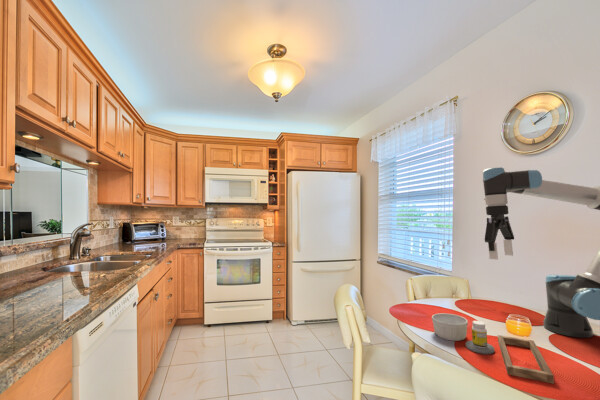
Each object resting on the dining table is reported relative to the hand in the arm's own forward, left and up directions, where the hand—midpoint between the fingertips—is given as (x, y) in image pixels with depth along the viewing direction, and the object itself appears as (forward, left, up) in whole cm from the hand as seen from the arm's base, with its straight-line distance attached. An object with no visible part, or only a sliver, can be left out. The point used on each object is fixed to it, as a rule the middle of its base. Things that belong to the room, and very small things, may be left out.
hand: (501, 257), depth 116 cm
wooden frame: (-2, +19, -32) cm, 37 cm away
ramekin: (+20, +8, -32) cm, 39 cm away
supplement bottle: (+10, +16, -31) cm, 36 cm away
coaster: (+10, +16, -32) cm, 37 cm away
